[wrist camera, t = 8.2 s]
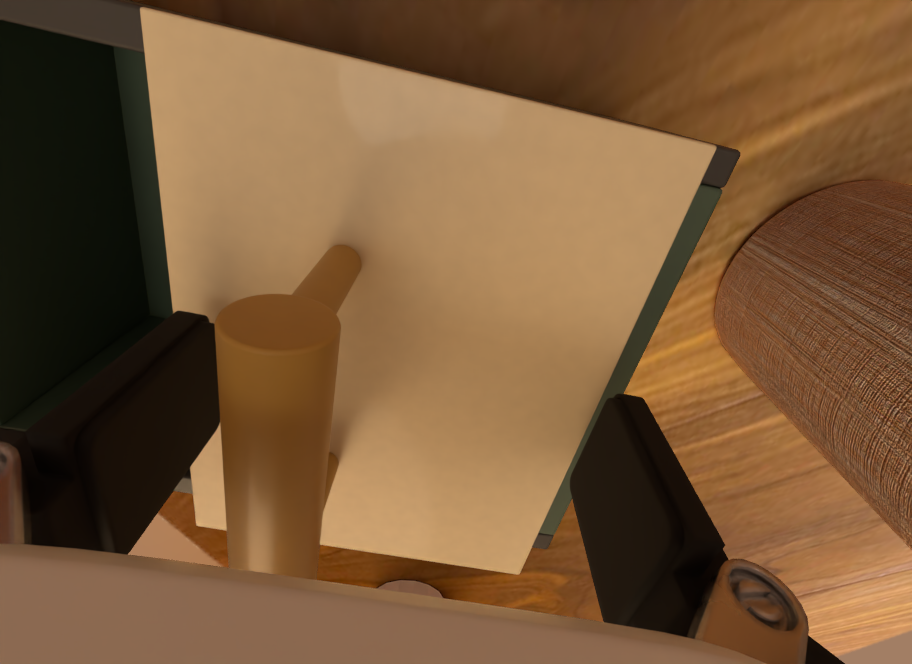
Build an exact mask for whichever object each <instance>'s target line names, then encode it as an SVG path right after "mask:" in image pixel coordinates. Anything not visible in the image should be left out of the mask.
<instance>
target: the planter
mask: <svg viewBox="0 0 912 664" xmlns="http://www.w3.org/2000/svg"><path fill="white" fill-rule="evenodd" d="M715 324H716V329H717V333H718V336H719V339H720V341H721V343H722V345H723V347H724V348H725V350H726V351H727V352H728V353H729V355H730V356H731V357H732V358H733V360H734V361H735V362H736V363H737V365H738V366H739V367H740V368H741V370H742V371H743V372H744V373H745V374H746V375H747V376H748V377H749V378H750V379H751V380H752V381H753V382H754V383H755V384H756V385H757V386H758V388H759V389H760V390H761V391H762V392H763V393H764V394H765V395H766V396H767V397H768V398H769V399H770V400H771V401H772V402H773V403H774V405H775V406H776V407H777V408H778V409H779V410H780V411H781V412H782V413H783V414H784V415H785V416H786V417H787V418H788V419H789V420H790V421H791V423H792V424H793V425H794V426H795V427H796V428H797V429H798V430H799V431H800V432H801V433H802V434H803V435H804V436H805V437H806V438H807V440H808V441H809V442H810V443H811V444H812V445H813V446H814V447H815V448H816V449H817V450H818V451H819V452H820V453H821V454H822V455H823V456H824V458H825V459H826V460H827V461H828V462H829V463H830V464H831V465H832V466H833V467H834V468H835V469H836V470H837V471H838V472H839V473H840V475H841V476H842V477H843V478H844V479H845V480H846V481H847V482H848V483H849V484H850V485H851V486H852V487H853V488H854V489H855V490H856V491H857V493H858V494H859V495H860V496H861V497H862V498H863V499H864V500H865V501H866V502H867V503H868V504H869V505H870V506H871V507H872V508H873V510H874V511H875V512H876V513H877V514H878V515H879V516H880V517H881V518H882V519H883V520H884V521H885V522H886V523H887V524H888V525H889V526H890V528H891V529H892V530H893V531H894V532H895V533H896V534H897V535H898V536H899V537H900V538H901V539H902V540H903V541H904V542H905V543H906V545H907V546H908V547H909V548H910V549H911V550H912V185H909V184H903V183H896V182H890V181H882V180H866V181H857V182H850V183H845V184H840V185H837V186H833V187H830V188H827V189H824V190H821V191H819V192H816V193H814V194H812V195H809V196H807V197H805V198H803V199H801V200H799V201H797V202H795V203H794V204H792V205H790V206H789V207H787V208H786V209H784V210H782V211H781V212H780V213H778V214H777V215H775V216H774V217H773V218H772V219H770V220H769V221H768V222H766V223H765V224H764V225H763V226H762V227H761V228H760V229H758V230H757V231H756V232H755V233H754V234H753V235H752V236H751V238H750V239H749V240H748V241H747V242H746V243H745V244H744V246H743V247H742V248H741V249H740V251H739V252H738V253H737V255H736V256H735V258H734V259H733V260H732V262H731V264H730V266H729V267H728V269H727V271H726V273H725V275H724V277H723V280H722V282H721V285H720V288H719V291H718V294H717V299H716V305H715Z"/></svg>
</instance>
